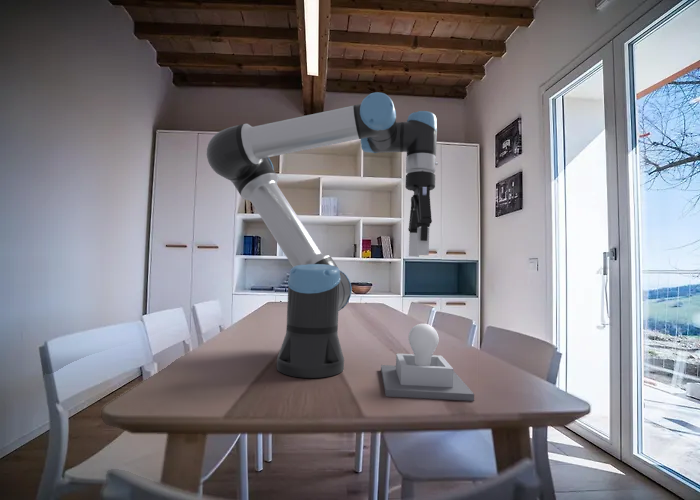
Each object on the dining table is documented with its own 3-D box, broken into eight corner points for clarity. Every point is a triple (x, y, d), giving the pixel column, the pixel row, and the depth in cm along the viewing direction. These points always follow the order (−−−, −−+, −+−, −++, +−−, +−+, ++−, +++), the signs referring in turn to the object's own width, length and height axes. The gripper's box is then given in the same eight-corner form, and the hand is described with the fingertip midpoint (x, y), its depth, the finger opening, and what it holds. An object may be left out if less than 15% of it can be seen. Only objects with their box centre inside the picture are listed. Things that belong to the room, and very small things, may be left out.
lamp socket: (385, 396, 65) (386, 370, 65) (380, 370, 81) (381, 349, 81) (474, 400, 64) (474, 374, 64) (451, 373, 80) (452, 352, 80)
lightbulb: (438, 384, 69) (439, 327, 69) (406, 380, 70) (408, 325, 71) (436, 374, 75) (438, 322, 75) (407, 371, 76) (409, 320, 77)
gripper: (446, 159, 79) (444, 255, 78) (426, 185, 104) (423, 257, 103) (413, 158, 79) (409, 253, 78) (400, 184, 104) (398, 256, 103)
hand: (417, 256), depth 90 cm, fingers open, 13 cm apart
